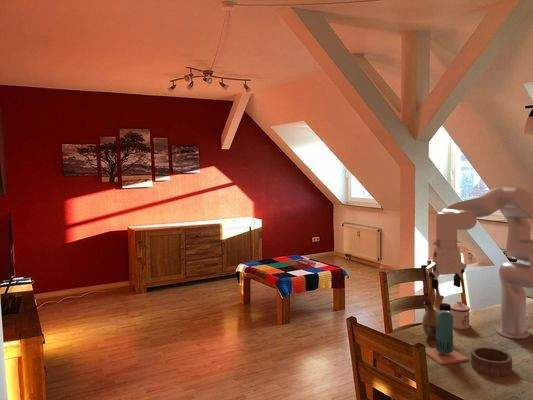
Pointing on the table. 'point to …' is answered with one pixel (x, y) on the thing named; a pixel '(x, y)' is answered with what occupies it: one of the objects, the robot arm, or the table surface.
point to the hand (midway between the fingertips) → (446, 287)
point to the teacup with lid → (460, 315)
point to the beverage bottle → (444, 329)
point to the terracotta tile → (445, 356)
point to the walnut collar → (491, 361)
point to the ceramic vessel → (431, 313)
